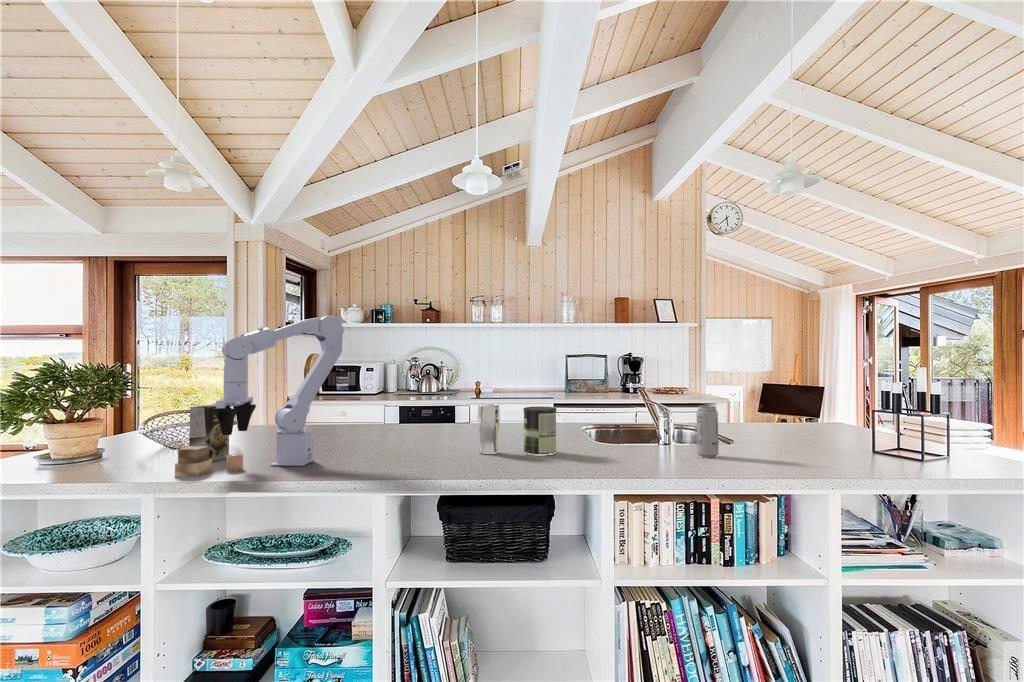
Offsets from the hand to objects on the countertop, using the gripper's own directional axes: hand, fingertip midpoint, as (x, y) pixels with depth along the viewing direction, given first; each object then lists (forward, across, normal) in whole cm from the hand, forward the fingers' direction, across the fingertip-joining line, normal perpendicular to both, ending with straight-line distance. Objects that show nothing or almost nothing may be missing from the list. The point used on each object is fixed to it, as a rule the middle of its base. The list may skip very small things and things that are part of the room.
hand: (235, 432), depth 147 cm
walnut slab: (+7, +5, -8) cm, 12 cm away
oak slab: (+10, +5, -8) cm, 14 cm away
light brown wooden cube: (+10, 0, 0) cm, 10 cm away
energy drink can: (+10, -23, +132) cm, 134 cm away
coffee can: (+10, -27, +82) cm, 87 cm away
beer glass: (+10, -27, +66) cm, 72 cm away
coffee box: (+10, -13, -15) cm, 22 cm away
